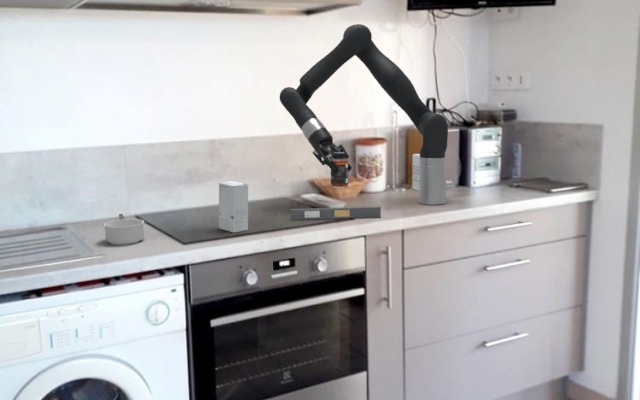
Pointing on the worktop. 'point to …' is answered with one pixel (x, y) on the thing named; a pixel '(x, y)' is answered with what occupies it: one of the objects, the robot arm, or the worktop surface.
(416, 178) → the supplement box
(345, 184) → the supplement bottle
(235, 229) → the skincare box
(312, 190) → the worktop surface
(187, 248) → the worktop surface
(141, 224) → the saucepan
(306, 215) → the price rail
